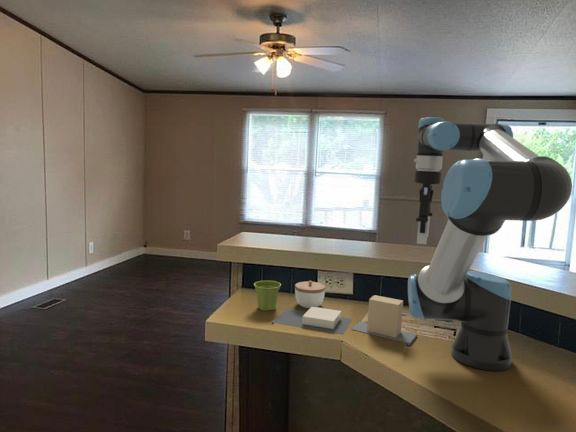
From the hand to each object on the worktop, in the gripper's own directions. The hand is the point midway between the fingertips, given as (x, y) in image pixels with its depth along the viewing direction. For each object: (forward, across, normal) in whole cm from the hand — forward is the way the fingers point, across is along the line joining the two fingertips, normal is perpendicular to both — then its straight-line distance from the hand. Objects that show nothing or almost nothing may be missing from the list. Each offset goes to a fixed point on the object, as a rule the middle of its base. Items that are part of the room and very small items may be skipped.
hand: (422, 240), depth 138 cm
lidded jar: (+29, -6, -37) cm, 47 cm away
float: (+29, +8, -9) cm, 31 cm away
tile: (+26, +8, -24) cm, 36 cm away
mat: (+29, +8, -32) cm, 43 cm away
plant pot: (+29, +2, -50) cm, 58 cm away
